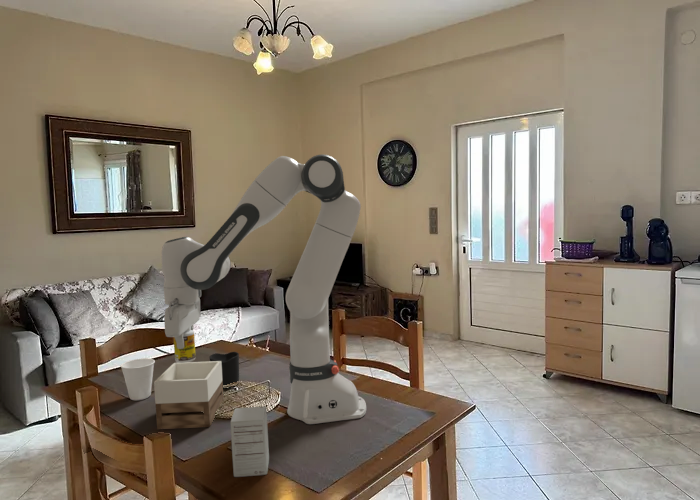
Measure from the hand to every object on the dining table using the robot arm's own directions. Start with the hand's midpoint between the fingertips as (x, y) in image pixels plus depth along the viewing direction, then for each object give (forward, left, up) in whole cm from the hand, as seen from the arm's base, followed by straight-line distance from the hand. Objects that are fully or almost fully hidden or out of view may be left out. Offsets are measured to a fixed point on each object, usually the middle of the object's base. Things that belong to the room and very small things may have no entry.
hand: (185, 344), depth 137 cm
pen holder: (-5, -24, -21) cm, 32 cm away
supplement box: (-23, +30, -21) cm, 43 cm away
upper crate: (-1, 0, -14) cm, 14 cm away
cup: (+20, -16, -21) cm, 33 cm away
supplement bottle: (0, 0, -5) cm, 5 cm away
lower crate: (-1, 0, -21) cm, 21 cm away
